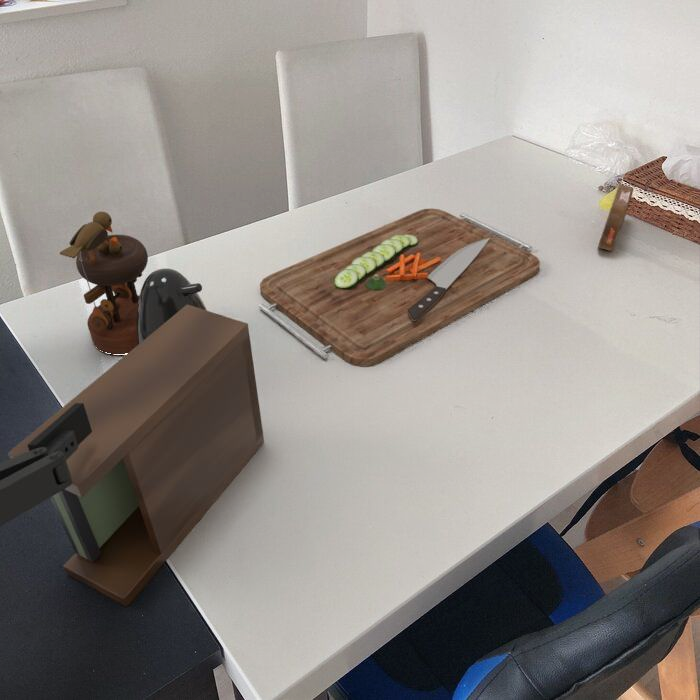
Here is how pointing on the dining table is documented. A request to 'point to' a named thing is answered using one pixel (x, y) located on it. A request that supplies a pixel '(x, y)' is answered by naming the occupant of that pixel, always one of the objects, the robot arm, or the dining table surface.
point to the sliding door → (96, 511)
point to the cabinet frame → (164, 440)
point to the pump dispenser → (164, 300)
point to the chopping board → (396, 284)
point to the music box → (109, 282)
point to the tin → (616, 217)
